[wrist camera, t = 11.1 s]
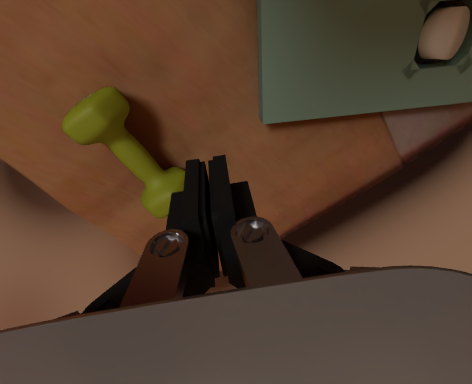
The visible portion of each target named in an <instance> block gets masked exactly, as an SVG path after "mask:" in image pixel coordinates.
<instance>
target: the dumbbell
mask: <svg viewBox="0 0 472 384" xmlns="http://www.w3.org/2000/svg"><path fill="white" fill-rule="evenodd" d="M129 111H130V106H129V103H128V101H127V100H126V99H125V97H124V96H123V95H122V94H121V93H120V91H119V90H118V89H116V88H114V87H105V88H102V89H100V90H98V91H96V92H94V93H92V94H91V95H89V96H87V97H86V98H85V99H83V100H82V101H81V102H79V103H78V104H77V105H76V106H74V107H73V108H72V109H71V110H70V111H69V112H68V114H67V115H66V116H65V118H64V120H63V122H62V129H63V131H64V132H65V133H66V134H67V135H68V136H69V137H70V138H71V139H72V140H74V141H75V142H76V143H78V144H81V145H90V144H94V143H104V144H106V145H107V146H108V147H109V148H110V149H111V150H112V152H113V153H114V154H115V155H116V156H117V158H118V159H119V160H120V161H121V162H122V163H123V164H124V165H125V166H126V167H127V168H128V169H129V170H130V171H131V172H132V173H133V174H134V175H136V176H137V177H138V178H139V179H141V180H142V181H143V182H144V183H145V185H146V187H145V189H144V191H143V193H142V196H141V202H142V204H143V205H144V207H145V208H146V209H147V210H148V211H149V212H150V213H151V214H152V215H153V216H154V217H156V218H164V217H167V216H168V213H169V206H170V200H171V194H172V193H173V192H179V191H183V189H184V179H185V170H183V169H181V168H179V167H171V168H169V169H167V170H163V169H161V168H160V166H159V165H158V164H157V162H156V161H155V160H154V158H153V157H152V156H151V155H150V154H149V152H148V151H147V150H146V149H145V148H144V147H143V146H142V145H141V144H140V143H139V142H138V141H137V140H136V139H135V138H134V137H133V136H132V135H131V134H130V133H129V132H128V131H127V130H126V129H125V127H124V122H125V119H126V117H127V115H128V113H129Z"/></svg>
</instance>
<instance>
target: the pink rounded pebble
mask: <svg viewBox="0 0 472 384" xmlns="http://www.w3.org/2000/svg"><path fill="white" fill-rule="evenodd" d="M469 20H470V11H469V8H468V7H467V6H459V7H445V8H436V9H435V10H433V11H432V12H431V13H430V15H429V16H428V18H427V19H426V21H425V23H424V25H423V28H422V30H421V34H420V37H419V43H418V52H419V56H420V57H421V58H424V59H442V60H448V59H451V58H452V57H453V56H454V55H455V54H456V52H457V51H458V49H459V48H460V46H461V44H462V42H463V40H464V38H465V35H466V32H467V29H468V25H469Z"/></svg>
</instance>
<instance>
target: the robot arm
mask: <svg viewBox="0 0 472 384" xmlns="http://www.w3.org/2000/svg"><path fill="white" fill-rule="evenodd" d="M208 165H209V180H208V175H207V170H206V165H205V162H204V161H203V162H200V160H199V159H194V160H188V161H186V168H185V179H184V189H183V191H179V192H173V193H172V194H171V200H170V206H169V213H168V219H167V226H166V230H165V231H162V232H159V233H157V234H156V235H154V236H153V237H152V238H151V239H150V240H149V241H148V242H147V244H146V246H145V248H144V251H143V253H142V255H141V258H140V260H139V262H138V265H137V267H136V268H134V269H133V270H132V271H131V272H130V273H128V274H127V275H126V276H125V277H123V278H122V279H121V280H119V281H118V282H117V283H116V284H114V285H113V286H112V287H111V288H109V289H108V290H107V291H106V292H104V293H103V294H102V295H101V296H99V297H98V298H97V299H95V301H93V302H92V303H91V304H90V305H89V306H88V307H87V308H85V310H84V311H83V313H81V314H80V313H79V312H78V311H75V312H72V313H70V314H67V315H64V316H61V317H58V318H56V319H52V320H48V321H42V322H36V323H31V324H27V325H22V326H17V327H12V328H8V329H4V330H0V384H472V274H470V273H467V272H463V271H458V270H452V269H446V268H439V267H431V266H390V267H381V268H379V267H350V270H343V269H342V268H341V267H340V266H338V265H336V264H334V263H333V262H330V261H328V260H326V259H324V258H321V257H319V256H317V255H315V254H312V253H310V252H308V251H306V250H303V249H301V248H299V247H297V246H294V245H292V244H290V243H288V242H285V241H283V240H281V239H280V238H279V236H278V234H277V232H276V230H275V229H274V227H273V225H272V224H271V223H270V222H269V221H268V220H266V219H264V218H261V217H257V215H256V212H255V208H254V204H253V200H252V197H251V193H250V189H249V185H248V182H247V181H245V182H238V183H232V184H230V182H229V176H228V170H227V163H226V157H225V155H221V156H214V157H213V160H210V161H208ZM218 252H219V256H220V261H221V266H222V270H223V275H224V276H228V279H229V283H230V284H232V285H233V286H235V287H236V288H237V289H231V290H226V291H219V292H213V293H206V292H207V290H209V289H210V288H211V287H215V278H218V277H220V274H219V259H218ZM205 293H206V294H205Z"/></svg>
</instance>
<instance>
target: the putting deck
mask: <svg viewBox="0 0 472 384" xmlns="http://www.w3.org/2000/svg"><path fill="white" fill-rule="evenodd" d="M462 2H463V4H464V6H467V7H468V8H469V11H470V20H469V25H468V29H467V32H466V35H465V38H464V40H463V42H462V44H461V46H460V48H459V49H458V51H457V52H456V54H455V55H454V56H453V57H452V58H451V59H448V60H442V61H441V62H435V63H428V62H432V61H434V60H436V59H424V58H421V57H420V56H419V52H418V43H419V37H420V34H421V30H422V28H423V25H424V23H425V21H426V19H427V18H428V16H429V15H430V13H431V12H432V11H433V10H435V9H436V8H445V7H458V6H457V5H456V4H454V3H453V2H450V1H446V0H257V32H258V77H259V118H260V120H261V122H262V124H271V123H280V122H289V121H299V120H308V119H317V118H327V117H336V116H345V115H355V114H364V113H373V112H383V111H392V110H401V109H411V108H420V107H429V106H439V105H448V104H457V103H467V102H472V0H462ZM416 62H418V63H425V64H416Z"/></svg>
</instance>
